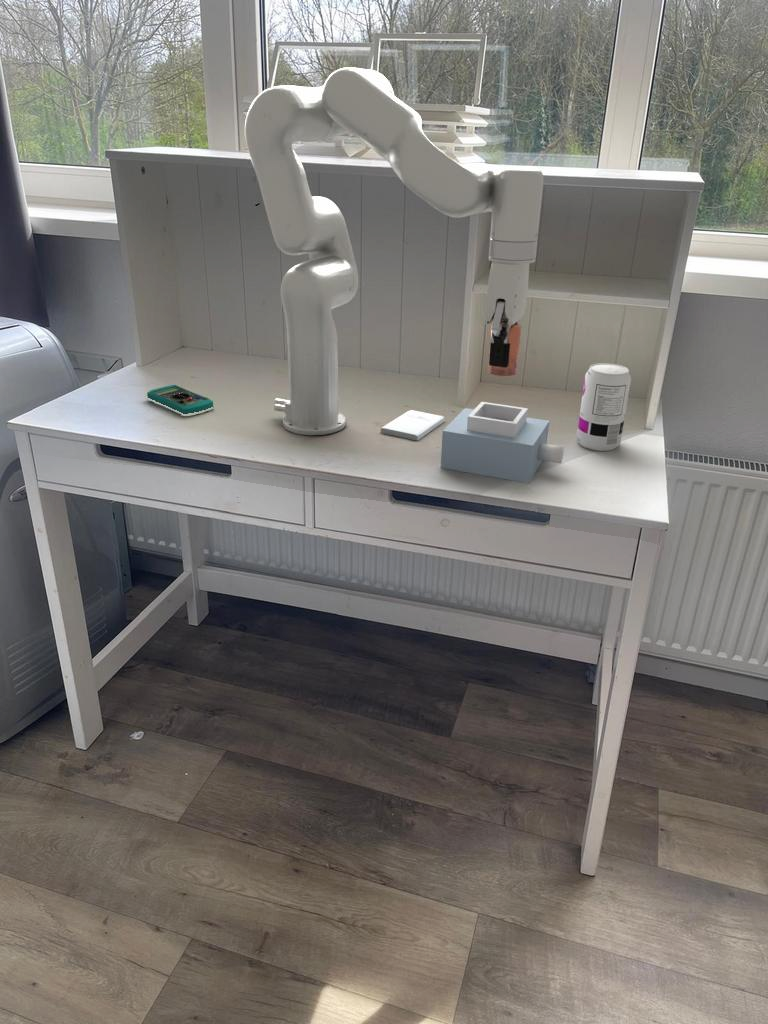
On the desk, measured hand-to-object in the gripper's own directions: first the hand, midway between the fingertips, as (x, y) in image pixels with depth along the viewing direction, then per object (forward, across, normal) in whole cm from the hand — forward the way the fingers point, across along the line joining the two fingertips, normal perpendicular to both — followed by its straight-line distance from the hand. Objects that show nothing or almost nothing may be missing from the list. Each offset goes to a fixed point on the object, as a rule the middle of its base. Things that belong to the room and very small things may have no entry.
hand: (503, 360), depth 134 cm
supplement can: (+19, -17, +16) cm, 30 cm away
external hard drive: (+19, -10, -20) cm, 30 cm away
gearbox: (+19, 0, +2) cm, 19 cm away
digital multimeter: (+19, -1, -69) cm, 72 cm away
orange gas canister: (+2, 0, 0) cm, 2 cm away
